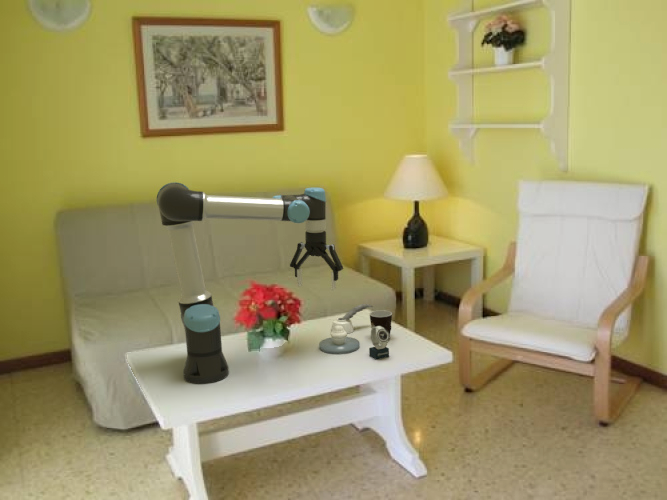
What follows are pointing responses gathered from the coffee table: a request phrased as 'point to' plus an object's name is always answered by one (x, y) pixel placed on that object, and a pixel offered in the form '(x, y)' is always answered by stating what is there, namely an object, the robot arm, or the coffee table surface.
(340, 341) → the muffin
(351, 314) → the inkwell
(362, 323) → the coffee table surface
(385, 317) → the coffee mug
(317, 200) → the robot arm
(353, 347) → the plate
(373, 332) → the watch
